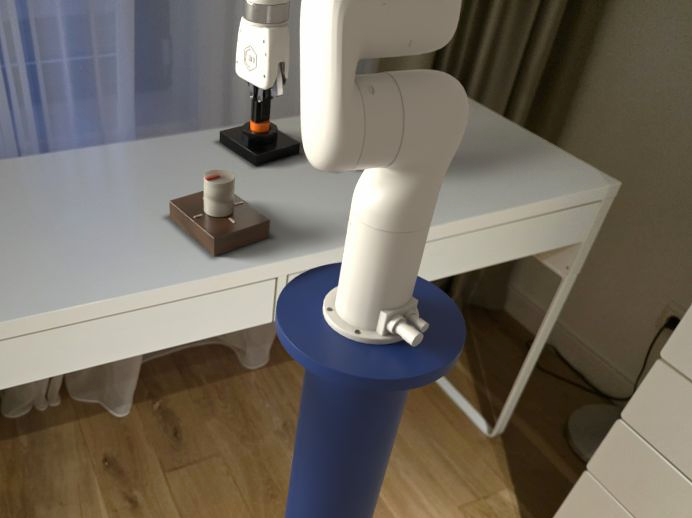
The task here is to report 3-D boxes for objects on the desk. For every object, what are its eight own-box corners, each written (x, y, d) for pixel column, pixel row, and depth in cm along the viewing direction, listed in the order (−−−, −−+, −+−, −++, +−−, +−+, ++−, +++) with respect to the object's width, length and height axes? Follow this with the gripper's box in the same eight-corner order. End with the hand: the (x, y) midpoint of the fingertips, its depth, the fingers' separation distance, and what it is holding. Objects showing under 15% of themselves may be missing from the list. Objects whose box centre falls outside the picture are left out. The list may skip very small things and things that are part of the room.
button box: (299, 154, 122) (301, 133, 120) (255, 166, 118) (256, 145, 115) (261, 131, 130) (262, 111, 127) (219, 142, 125) (219, 121, 123)
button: (273, 131, 121) (274, 122, 120) (257, 135, 120) (258, 126, 118) (262, 124, 123) (262, 115, 122) (246, 128, 122) (246, 119, 121)
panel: (269, 237, 100) (270, 219, 98) (213, 256, 96) (214, 237, 94) (222, 201, 108) (222, 183, 106) (169, 217, 104) (168, 199, 102)
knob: (223, 199, 102) (223, 164, 99) (239, 212, 100) (241, 176, 96) (198, 207, 101) (197, 172, 97) (214, 220, 98) (214, 184, 94)
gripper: (222, 3, 111) (220, 110, 123) (274, 26, 102) (267, 140, 114) (258, -3, 114) (253, 102, 127) (312, 19, 105) (301, 130, 117)
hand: (260, 120), depth 120 cm, fingers closed
